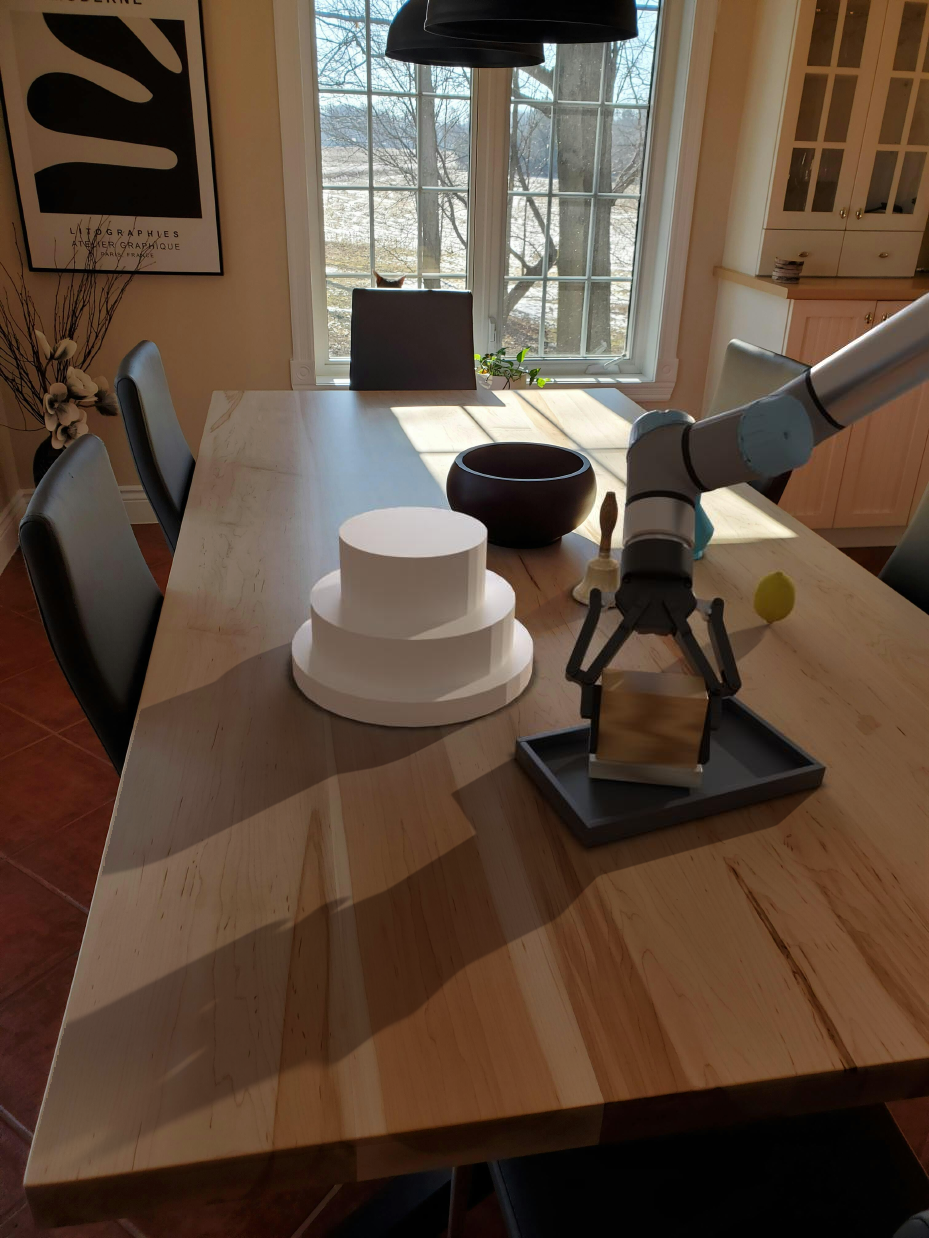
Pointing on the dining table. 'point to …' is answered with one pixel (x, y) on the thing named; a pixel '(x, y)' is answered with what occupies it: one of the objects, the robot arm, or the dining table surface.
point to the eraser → (650, 728)
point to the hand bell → (602, 556)
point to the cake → (412, 624)
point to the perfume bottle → (701, 529)
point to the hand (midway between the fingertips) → (647, 756)
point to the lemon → (774, 597)
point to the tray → (612, 809)
